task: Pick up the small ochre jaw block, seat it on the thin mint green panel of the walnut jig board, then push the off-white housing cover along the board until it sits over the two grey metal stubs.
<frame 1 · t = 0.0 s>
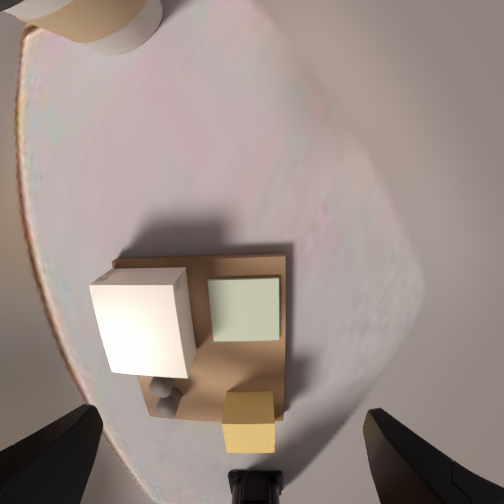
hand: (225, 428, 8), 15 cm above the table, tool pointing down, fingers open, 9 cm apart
jig board: (205, 348, 24), on the table
jaw block: (250, 407, 24), point 1 cm above the table, touching jig board
thin mint green panel: (245, 304, 23), resting on jig board
coffee cup: (125, 22, 17), on the table
housing cover: (146, 322, 20), point 3 cm above the table, slide at 0.0 cm
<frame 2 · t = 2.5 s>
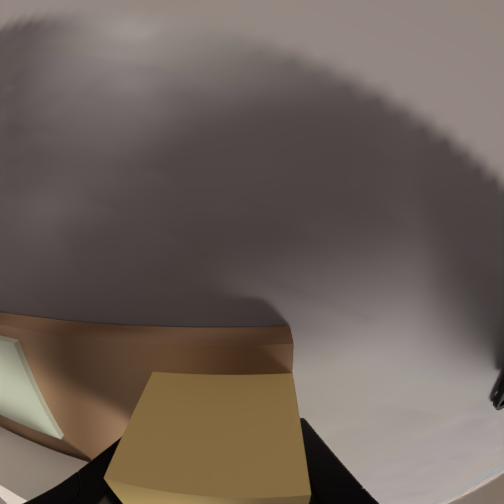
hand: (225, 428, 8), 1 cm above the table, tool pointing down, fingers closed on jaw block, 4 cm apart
jig board: (105, 441, 10), on the table
jaw block: (226, 421, 8), point 1 cm above the table, touching gripper, jig board
thin mint green panel: (16, 370, 10), resting on jig board
housing cover: (50, 497, 8), point 3 cm above the table, slide at 0.0 cm
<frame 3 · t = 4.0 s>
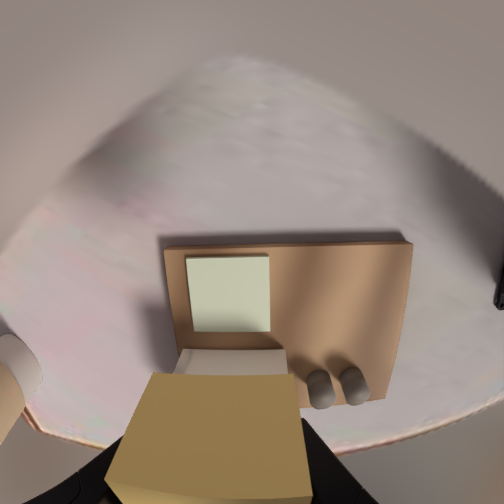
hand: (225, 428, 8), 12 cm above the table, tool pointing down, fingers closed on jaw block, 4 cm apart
jig board: (291, 333, 20), on the table
jaw block: (227, 422, 8), point 12 cm above the table, touching gripper
thin mint green panel: (231, 289, 20), resting on jig board
coffee cup: (21, 360, 23), on the table
housing cover: (233, 399, 19), point 3 cm above the table, slide at 0.0 cm
when the fingers open (3 cm above the table, at t = 5.7 s): jaw block drops 1 cm, resting on thin mint green panel.
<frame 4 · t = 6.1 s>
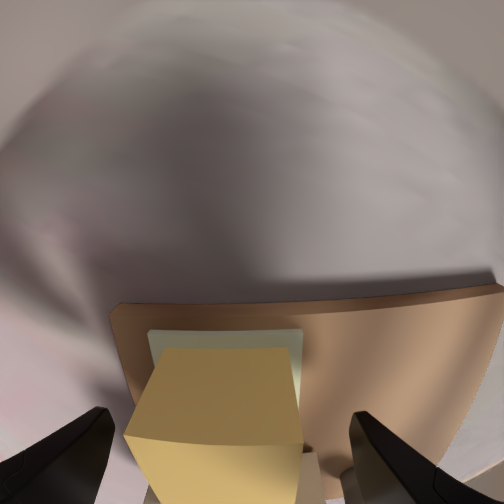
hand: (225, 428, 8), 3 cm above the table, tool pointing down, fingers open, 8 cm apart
jig board: (324, 425, 12), on the table
jaw block: (229, 394, 10), point 1 cm above the table, touching thin mint green panel
thin mint green panel: (231, 373, 11), resting on jig board
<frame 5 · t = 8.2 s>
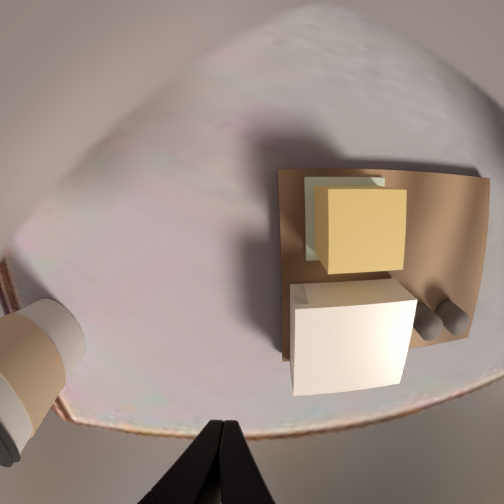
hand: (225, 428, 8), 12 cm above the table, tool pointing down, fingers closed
jig board: (394, 265, 19), on the table
jaw block: (347, 218, 17), point 1 cm above the table, touching thin mint green panel
thin mint green panel: (341, 215, 18), resting on jig board
coffee cup: (57, 331, 22), on the table
housing cover: (348, 336, 17), point 3 cm above the table, slide at 0.0 cm
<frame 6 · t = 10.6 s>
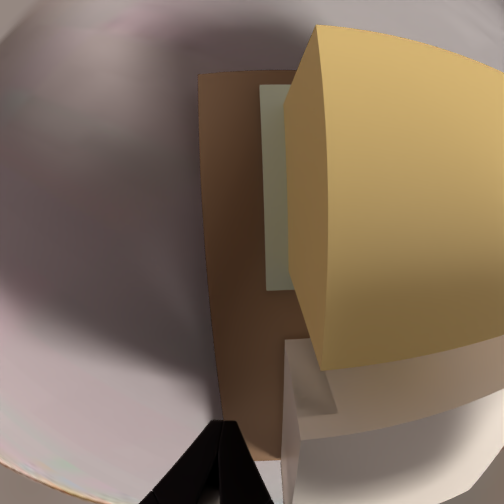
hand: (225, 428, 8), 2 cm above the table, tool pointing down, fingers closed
jig board: (448, 291, 9), on the table
jaw block: (368, 187, 7), point 1 cm above the table, touching thin mint green panel
thin mint green panel: (350, 185, 8), resting on jig board
housing cover: (400, 438, 7), point 3 cm above the table, slide at 1.5 cm, touching gripper
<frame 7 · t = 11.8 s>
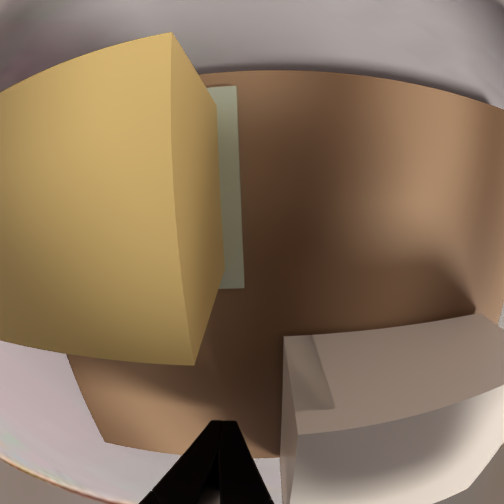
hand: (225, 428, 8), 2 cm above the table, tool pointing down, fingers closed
jig board: (296, 301, 9), on the table
jaw block: (140, 193, 7), point 1 cm above the table, touching thin mint green panel
thin mint green panel: (155, 190, 8), resting on jig board
housing cover: (399, 435, 7), point 3 cm above the table, slide at 7.0 cm, touching gripper
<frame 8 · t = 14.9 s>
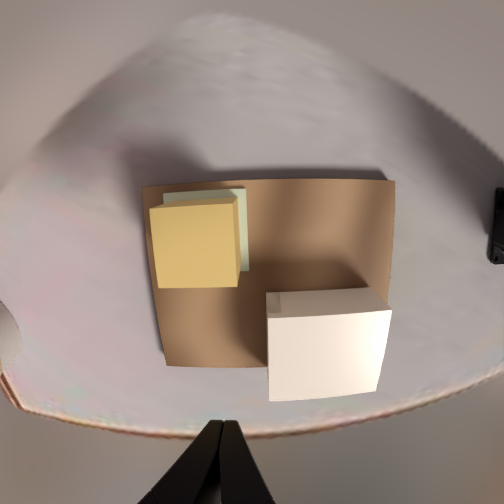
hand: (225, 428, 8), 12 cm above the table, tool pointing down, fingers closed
jig board: (272, 278, 20), on the table
jaw block: (206, 232, 18), point 1 cm above the table, touching thin mint green panel
thin mint green panel: (209, 228, 19), resting on jig board
coffee cup: (2, 326, 22), on the table
housing cover: (323, 344, 18), point 3 cm above the table, slide at 7.0 cm
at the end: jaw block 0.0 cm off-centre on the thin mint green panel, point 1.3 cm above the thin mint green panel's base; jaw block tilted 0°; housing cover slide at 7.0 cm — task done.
